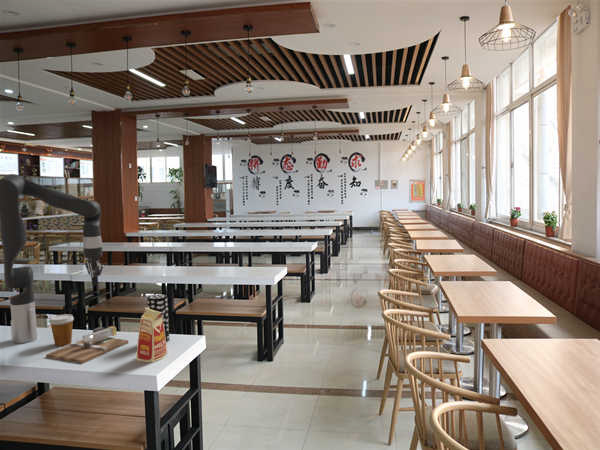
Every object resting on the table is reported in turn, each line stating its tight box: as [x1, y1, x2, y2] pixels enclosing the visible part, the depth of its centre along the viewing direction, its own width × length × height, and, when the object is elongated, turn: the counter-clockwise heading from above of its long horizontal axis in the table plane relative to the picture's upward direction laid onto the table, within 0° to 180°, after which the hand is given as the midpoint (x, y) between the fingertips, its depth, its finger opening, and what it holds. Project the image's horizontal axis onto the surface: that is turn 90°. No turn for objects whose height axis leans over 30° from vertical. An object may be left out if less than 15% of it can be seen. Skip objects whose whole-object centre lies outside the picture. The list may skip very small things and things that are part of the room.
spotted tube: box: [146, 293, 170, 343], centre depth 196 cm, size 8×8×20 cm
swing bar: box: [82, 325, 117, 346], centre depth 192 cm, size 15×4×4 cm, turn 152°
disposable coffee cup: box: [48, 313, 75, 347], centre depth 196 cm, size 10×10×12 cm
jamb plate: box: [45, 326, 129, 364], centre depth 188 cm, size 20×24×6 cm
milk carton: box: [135, 307, 168, 363], centre depth 177 cm, size 9×9×20 cm
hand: (94, 284), depth 198 cm, fingers closed
